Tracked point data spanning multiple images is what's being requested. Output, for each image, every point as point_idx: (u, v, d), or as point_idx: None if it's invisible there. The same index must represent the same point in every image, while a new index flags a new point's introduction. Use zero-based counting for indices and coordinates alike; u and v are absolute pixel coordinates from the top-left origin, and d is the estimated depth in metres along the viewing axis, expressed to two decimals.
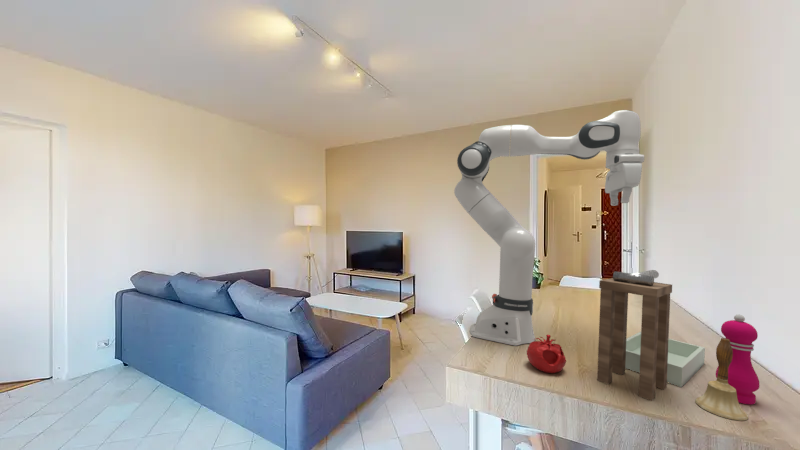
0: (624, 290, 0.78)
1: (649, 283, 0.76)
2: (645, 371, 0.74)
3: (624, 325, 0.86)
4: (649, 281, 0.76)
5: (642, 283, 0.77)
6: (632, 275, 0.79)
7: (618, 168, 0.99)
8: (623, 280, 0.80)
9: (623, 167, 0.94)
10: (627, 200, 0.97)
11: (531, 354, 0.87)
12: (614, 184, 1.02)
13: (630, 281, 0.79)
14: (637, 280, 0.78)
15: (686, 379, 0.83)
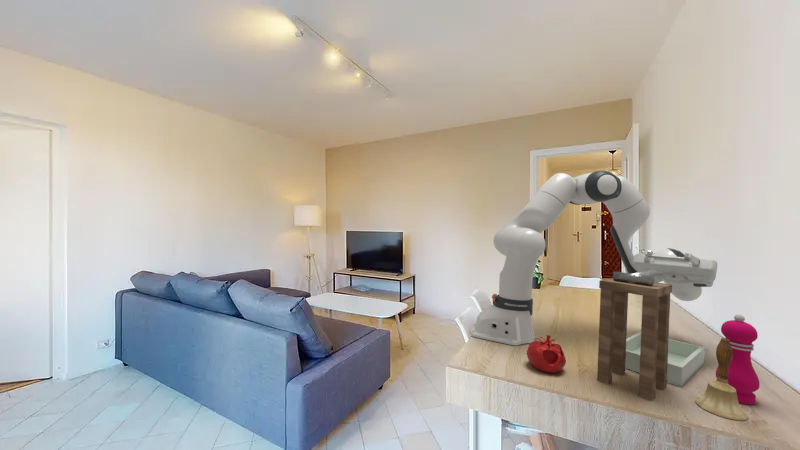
0: (624, 290, 0.78)
1: (649, 283, 0.76)
2: (645, 371, 0.74)
3: (624, 325, 0.86)
4: (649, 281, 0.76)
5: (642, 283, 0.77)
6: (632, 275, 0.79)
7: None
8: (623, 280, 0.80)
9: None
10: (691, 258, 0.92)
11: (531, 354, 0.87)
12: None
13: (630, 281, 0.79)
14: (637, 280, 0.78)
15: (686, 379, 0.83)
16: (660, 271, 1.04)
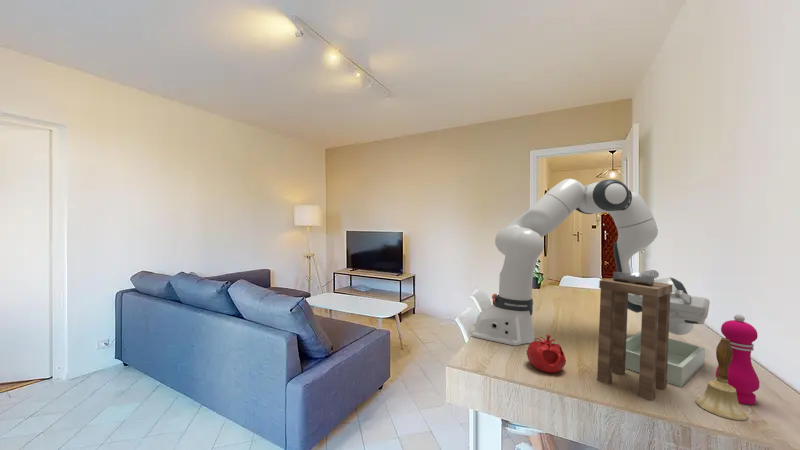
0: (624, 290, 0.78)
1: (649, 283, 0.76)
2: (645, 371, 0.74)
3: (624, 325, 0.86)
4: (649, 281, 0.76)
5: (642, 283, 0.77)
6: (632, 275, 0.79)
7: None
8: (623, 280, 0.80)
9: None
10: (682, 295, 0.88)
11: (531, 354, 0.87)
12: None
13: (630, 281, 0.79)
14: (637, 280, 0.78)
15: (686, 379, 0.83)
16: None
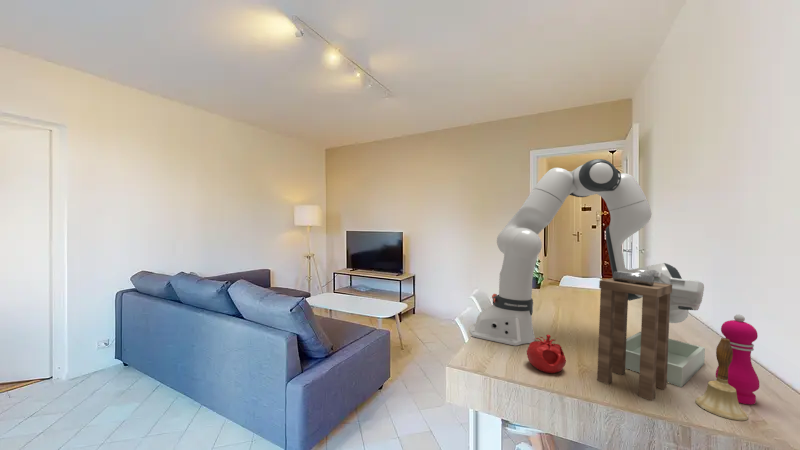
0: (624, 290, 0.78)
1: (649, 283, 0.76)
2: (645, 371, 0.74)
3: (624, 325, 0.86)
4: (649, 281, 0.76)
5: (642, 283, 0.77)
6: (632, 275, 0.79)
7: None
8: (623, 280, 0.80)
9: None
10: (661, 277, 0.85)
11: (531, 354, 0.87)
12: None
13: (630, 281, 0.79)
14: (637, 280, 0.78)
15: (686, 379, 0.83)
16: None
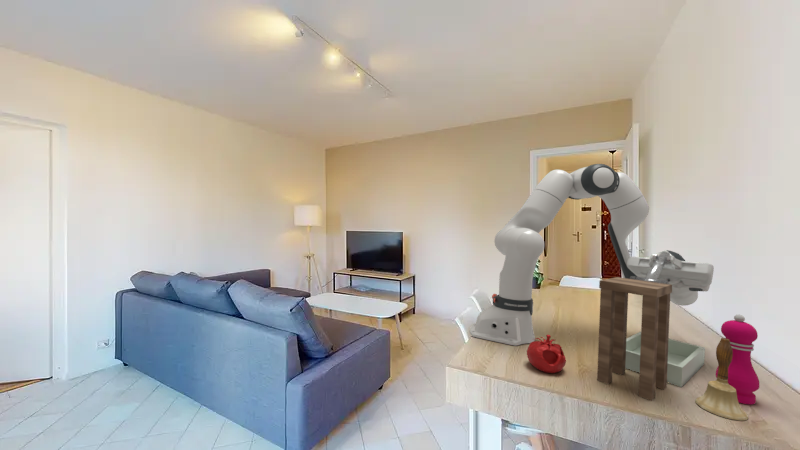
0: (624, 290, 0.78)
1: None
2: (645, 371, 0.74)
3: (624, 325, 0.86)
4: None
5: None
6: None
7: None
8: None
9: None
10: (673, 260, 0.91)
11: (531, 354, 0.87)
12: None
13: None
14: None
15: (686, 379, 0.83)
16: None
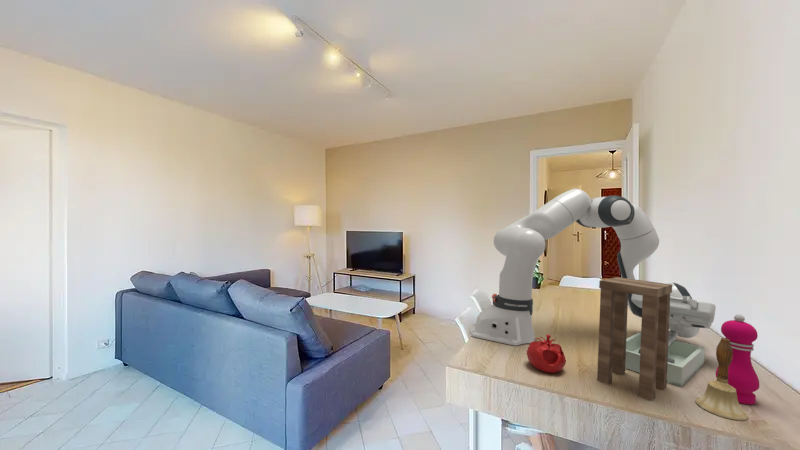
0: (624, 290, 0.78)
1: None
2: (645, 371, 0.74)
3: (624, 325, 0.86)
4: None
5: None
6: None
7: None
8: None
9: None
10: (689, 301, 0.92)
11: (531, 354, 0.87)
12: None
13: None
14: None
15: (686, 379, 0.83)
16: None
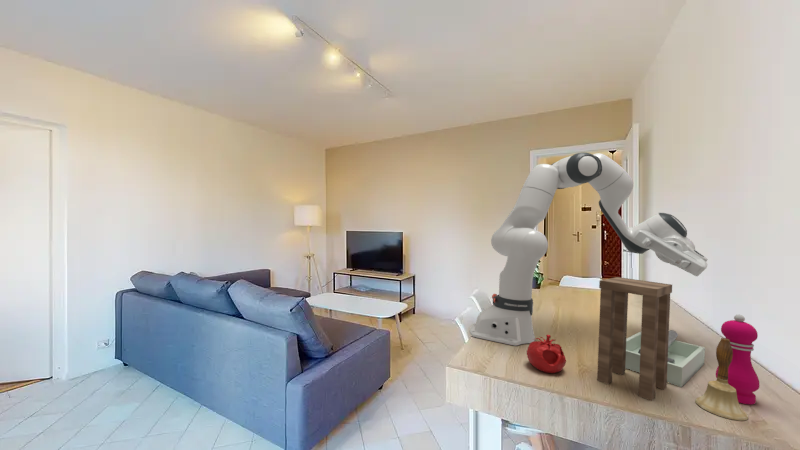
0: (624, 290, 0.78)
1: None
2: (645, 371, 0.74)
3: (624, 325, 0.86)
4: None
5: None
6: None
7: (691, 254, 1.01)
8: None
9: (706, 263, 0.98)
10: (680, 265, 0.95)
11: (531, 354, 0.87)
12: (673, 248, 1.01)
13: None
14: None
15: (686, 379, 0.83)
16: None
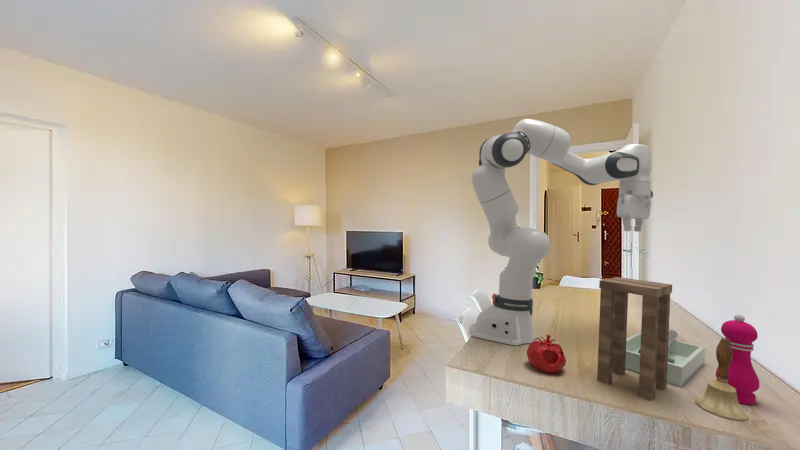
0: (624, 290, 0.78)
1: None
2: (645, 371, 0.74)
3: (624, 325, 0.86)
4: None
5: None
6: None
7: (646, 201, 1.11)
8: None
9: (650, 203, 1.13)
10: None
11: (531, 354, 0.87)
12: (640, 213, 1.09)
13: None
14: None
15: (686, 379, 0.83)
16: None
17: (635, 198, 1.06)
